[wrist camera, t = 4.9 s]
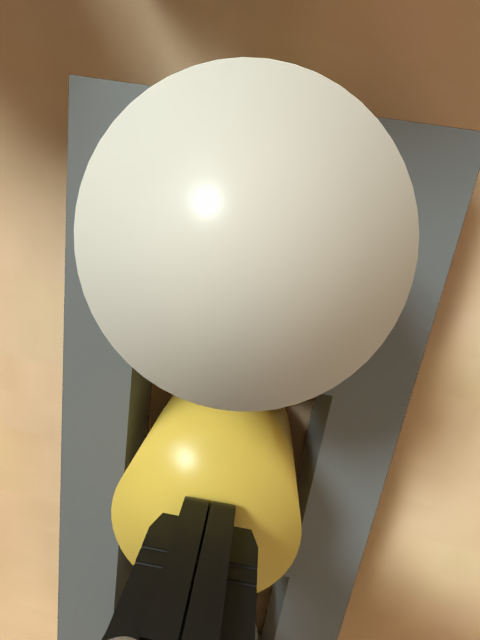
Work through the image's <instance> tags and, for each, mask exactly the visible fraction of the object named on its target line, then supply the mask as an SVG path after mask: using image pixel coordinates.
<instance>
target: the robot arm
mask: <svg viewBox="0 0 480 640" xmlns="http://www.w3.org/2000/svg"><path fill="white" fill-rule="evenodd" d="M209 504H210V500H205V499H199V498H194V497H189V496H185V498H184V501H183V504H182V507H181V510H180V513H179V516H178V515H172V514H167V513H162V514H161V515H160V516H159V517H158V518H157V519H156V520H155V521H154V522H153V523H152V524H151V525H150V526H149V529H148V531H147V534H146V536H145V539H144V541H143V543H142V547H141V549H140V551H139V553H138V556H137V558H136V560H135V564H134V565H133V568H132V570H131V573H130V575H129V577H128V580H127V582H126V585H125V587H124V590H123V592H122V594H121V597H120V599H119V602H118V604H117V607H116V609H115V611H114V614H113V616H112V619H111V621H110V624H109V626H108V628H107V630H106V632H105V634H104V636H103V638H102V639H101V640H255V627H256V598H257V568H258V546H257V543H256V540H255V538H254V535H253V532H252V530H251V529H246V528H240V527H235V526H234V519H235V511H236V505H232V504H226V503H221V502H216V501H212V502H211V507H210V511H209V516H208V510H209ZM207 517H208V521H207ZM206 523H207V525H206Z"/></svg>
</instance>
